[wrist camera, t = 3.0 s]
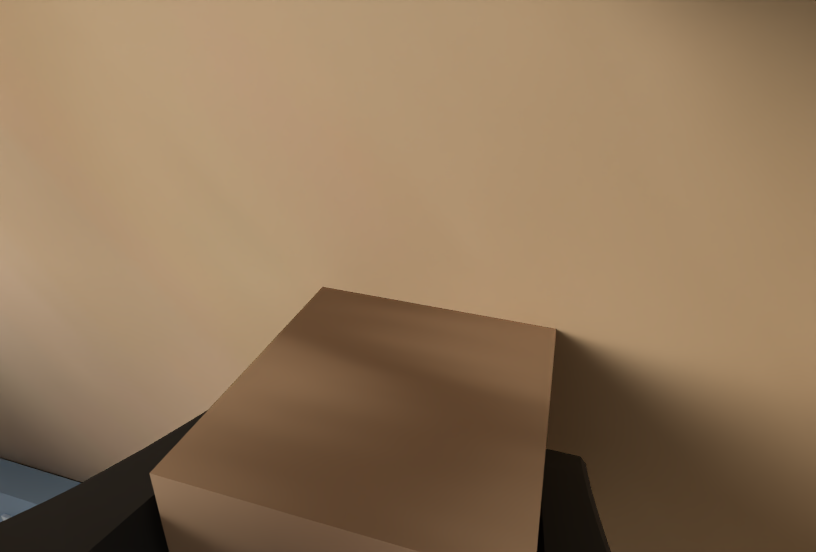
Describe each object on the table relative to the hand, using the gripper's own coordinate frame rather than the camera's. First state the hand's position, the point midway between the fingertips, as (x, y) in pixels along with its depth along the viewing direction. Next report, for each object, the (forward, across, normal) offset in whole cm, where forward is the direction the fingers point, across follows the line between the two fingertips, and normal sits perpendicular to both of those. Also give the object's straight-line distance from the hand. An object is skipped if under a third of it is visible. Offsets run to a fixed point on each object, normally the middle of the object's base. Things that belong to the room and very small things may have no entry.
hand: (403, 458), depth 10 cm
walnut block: (+2, 0, 0) cm, 2 cm away
